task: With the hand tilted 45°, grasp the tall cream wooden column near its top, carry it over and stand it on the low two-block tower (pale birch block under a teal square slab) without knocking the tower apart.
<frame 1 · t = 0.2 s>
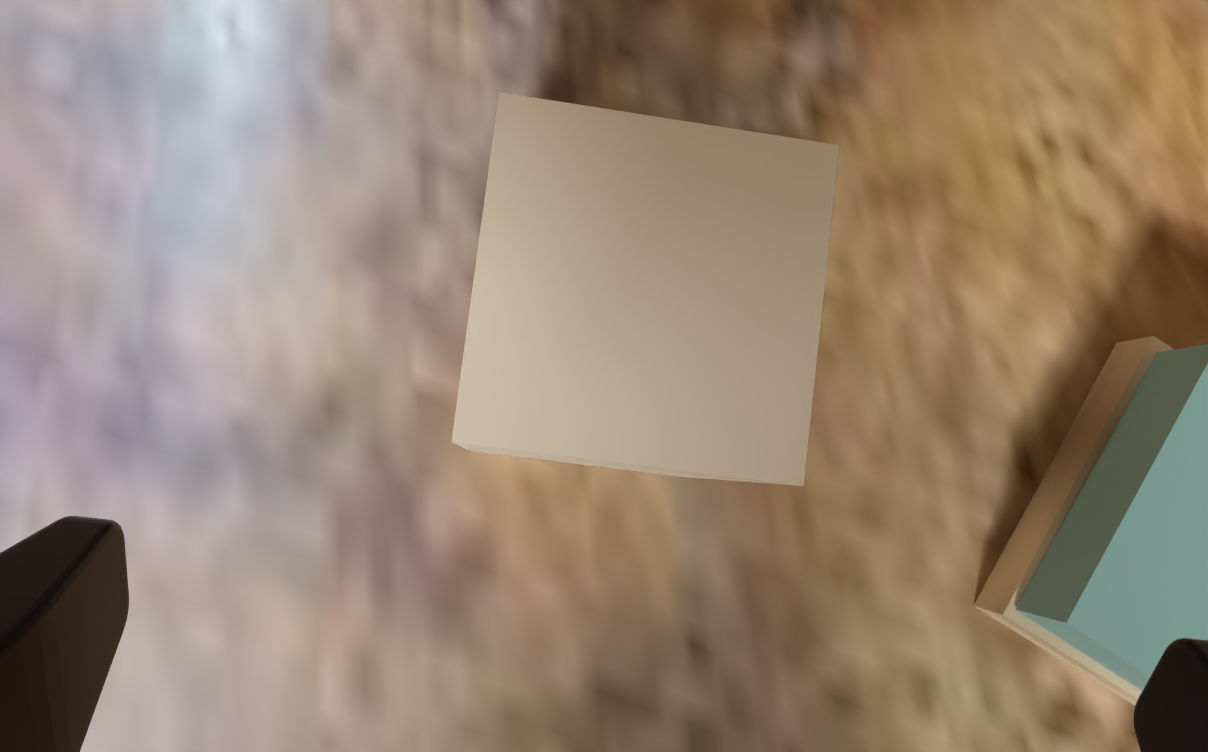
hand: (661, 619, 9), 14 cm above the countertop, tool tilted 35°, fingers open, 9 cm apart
cream column: (585, 361, 24), on the countertop
tower base: (1156, 549, 25), on the countertop, touching teal square slab
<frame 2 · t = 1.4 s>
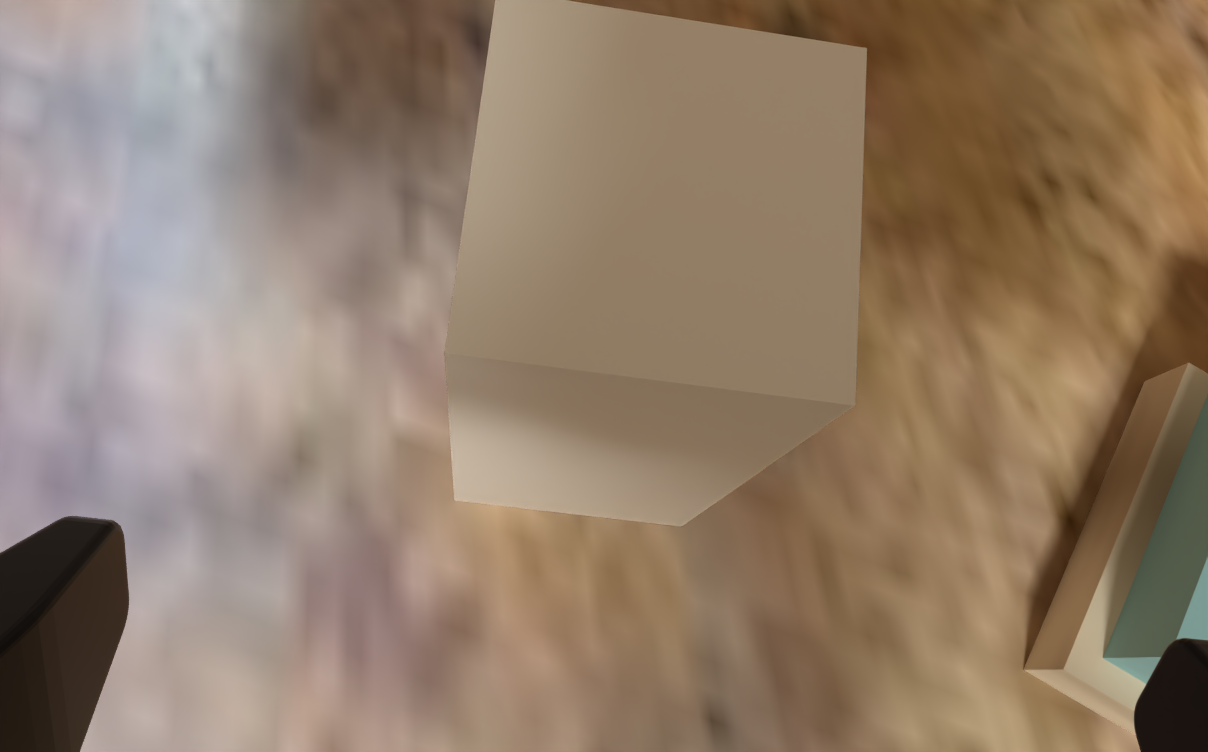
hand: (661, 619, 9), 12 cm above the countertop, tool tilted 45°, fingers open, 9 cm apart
cream column: (580, 403, 22), on the countertop
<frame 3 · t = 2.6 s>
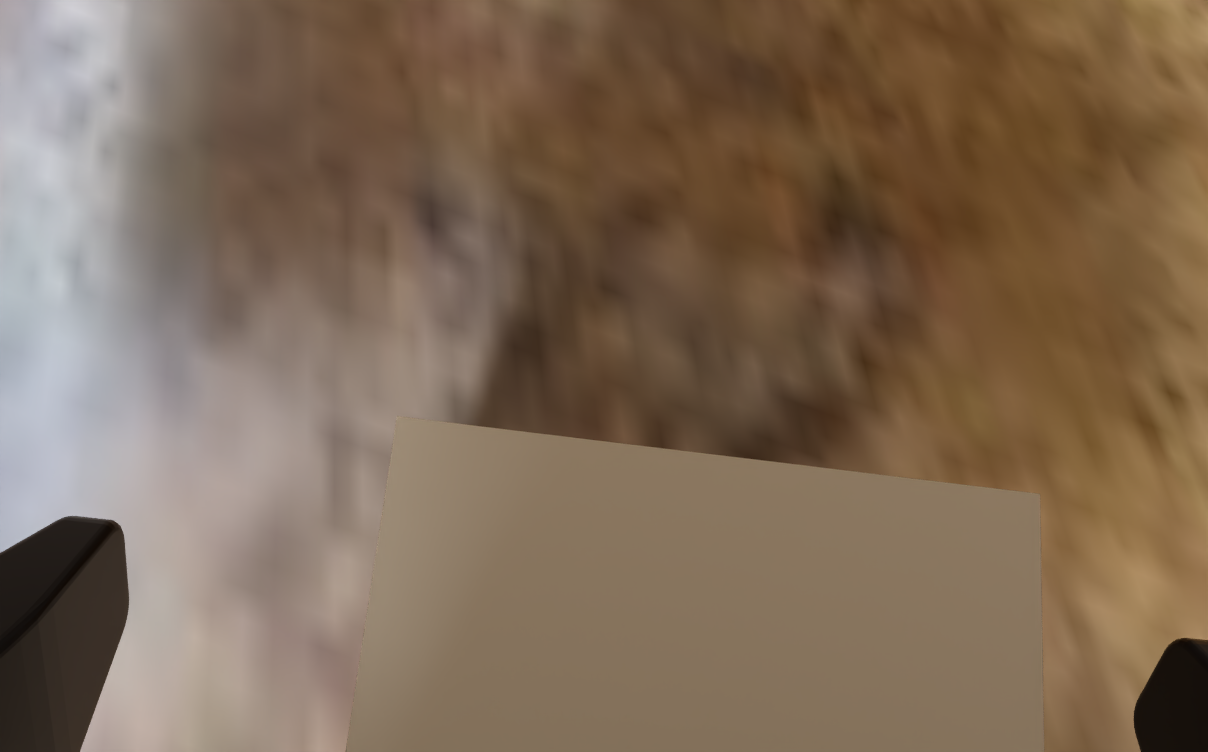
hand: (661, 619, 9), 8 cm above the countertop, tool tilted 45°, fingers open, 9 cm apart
cream column: (565, 727, 16), on the countertop
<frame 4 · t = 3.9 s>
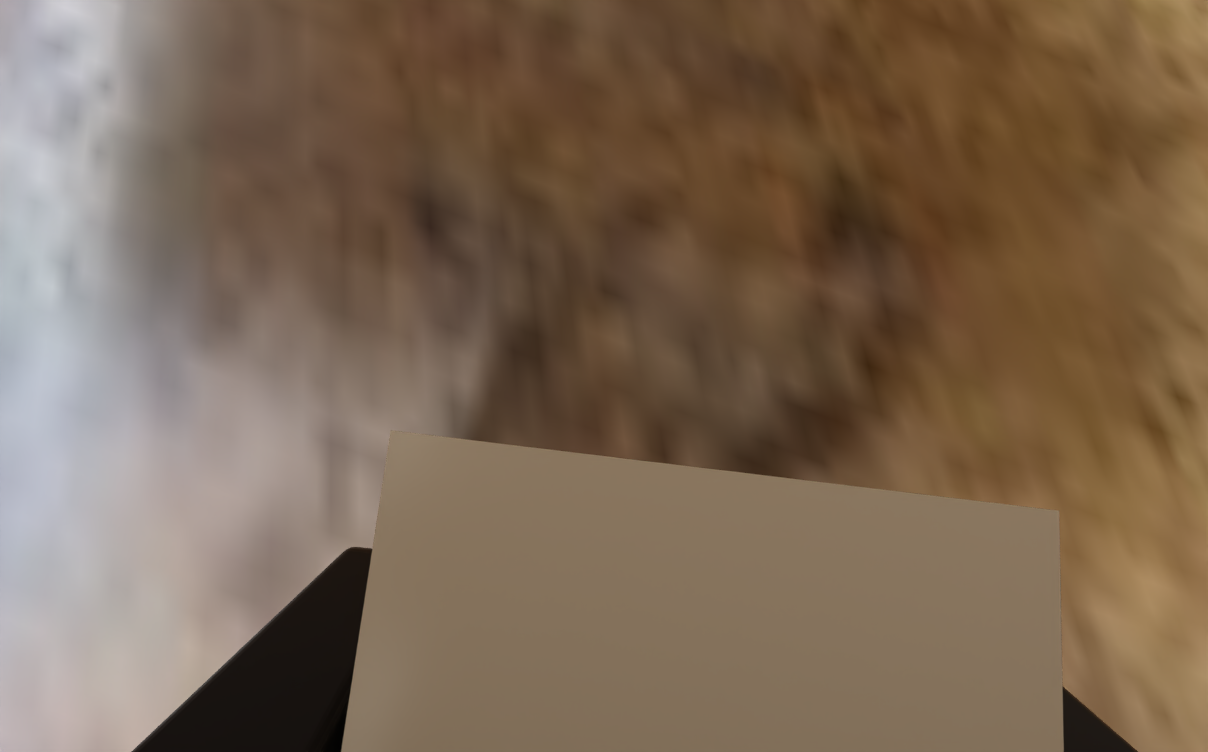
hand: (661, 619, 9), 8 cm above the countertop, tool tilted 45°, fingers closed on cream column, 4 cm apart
cream column: (565, 736, 16), on the countertop, touching gripper
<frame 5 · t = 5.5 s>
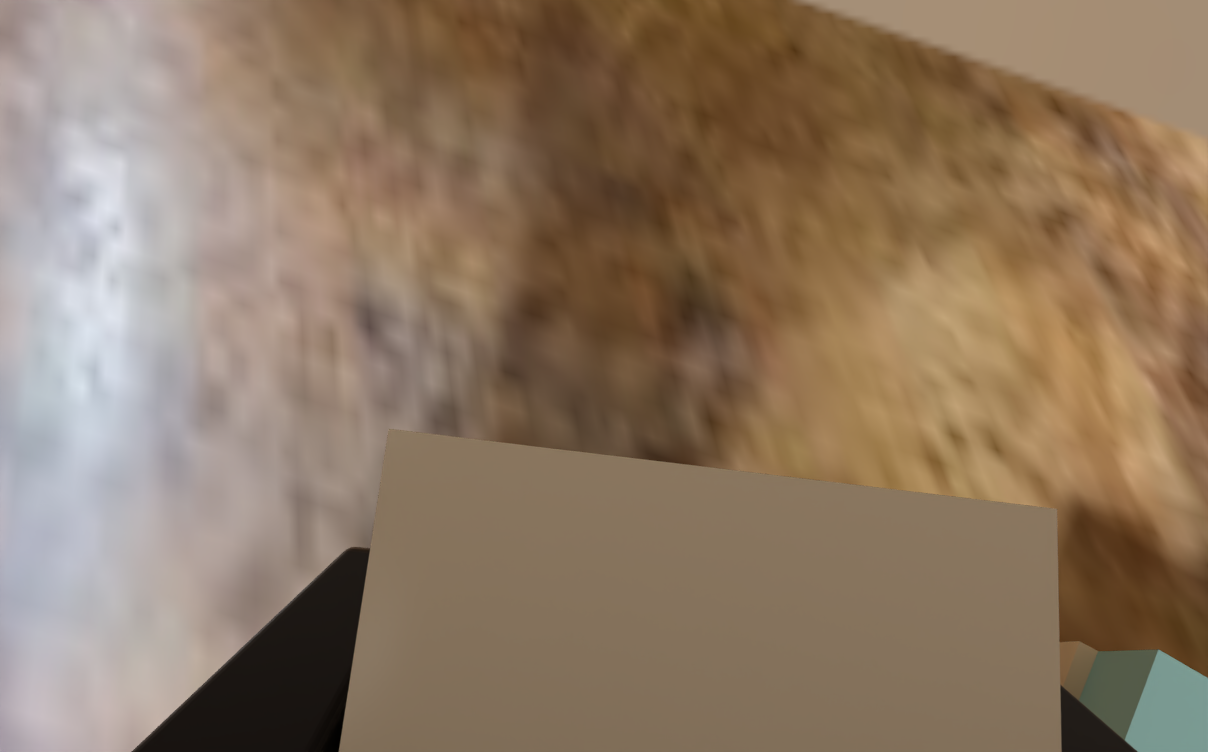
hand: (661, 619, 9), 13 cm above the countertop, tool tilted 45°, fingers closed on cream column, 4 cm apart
cream column: (564, 735, 16), point 6 cm above the countertop, touching gripper
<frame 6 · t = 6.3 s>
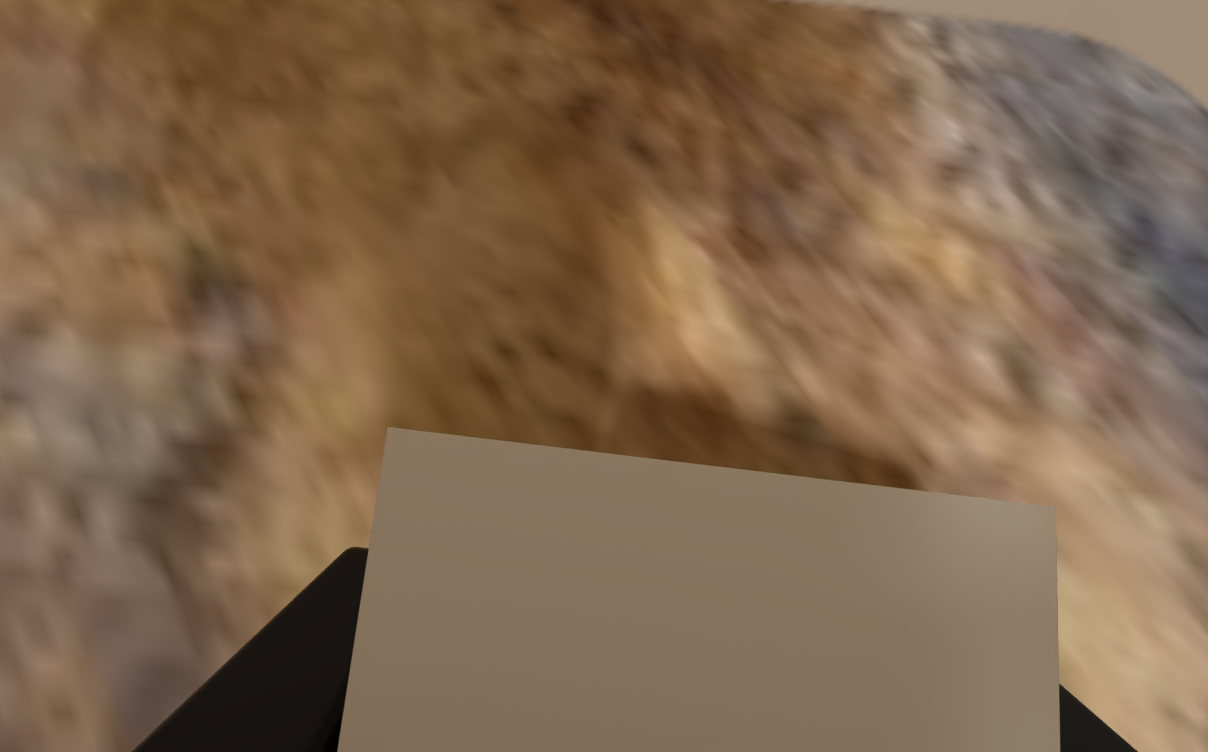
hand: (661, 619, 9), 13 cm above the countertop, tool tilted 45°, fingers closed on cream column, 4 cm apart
cream column: (564, 734, 16), point 6 cm above the countertop, touching gripper
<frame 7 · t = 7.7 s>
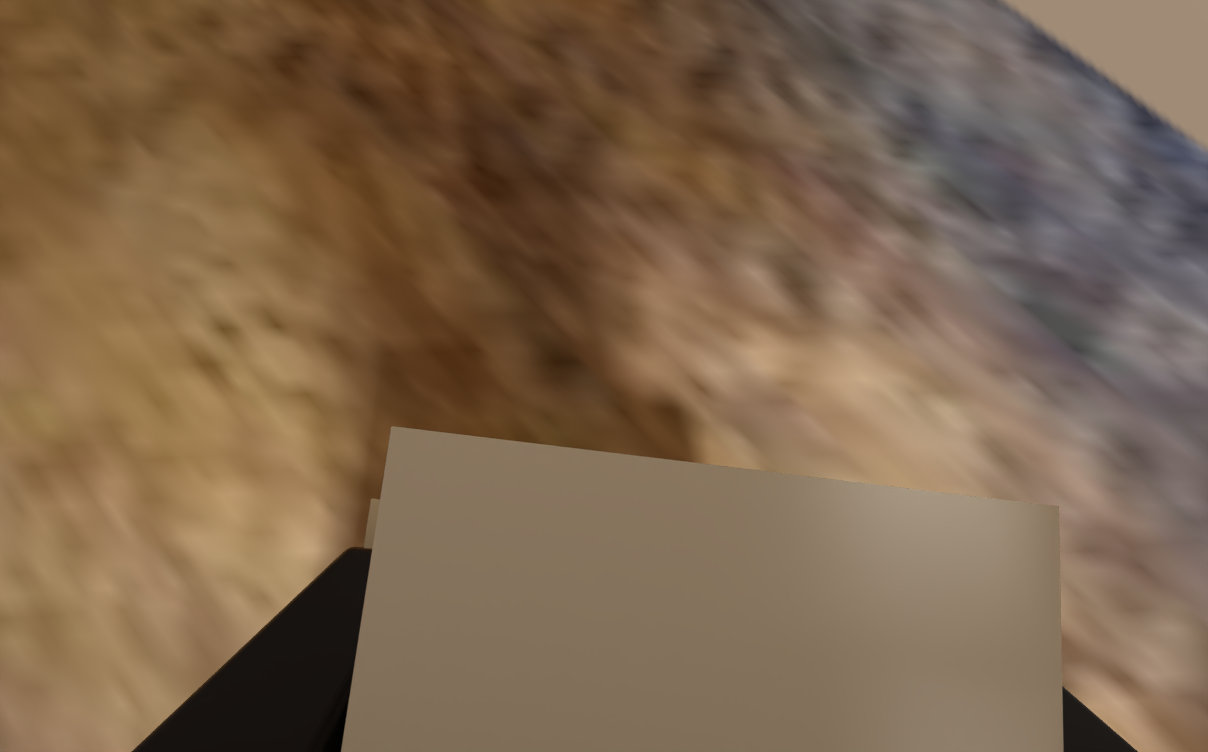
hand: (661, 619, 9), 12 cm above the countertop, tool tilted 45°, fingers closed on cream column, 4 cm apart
cream column: (565, 734, 16), point 4 cm above the countertop, touching gripper
tower base: (532, 713, 21), on the countertop
when the fingers open (12 cm above the countertop, at t = 8.4 s): cream column stays where it is, resting on teal square slab.
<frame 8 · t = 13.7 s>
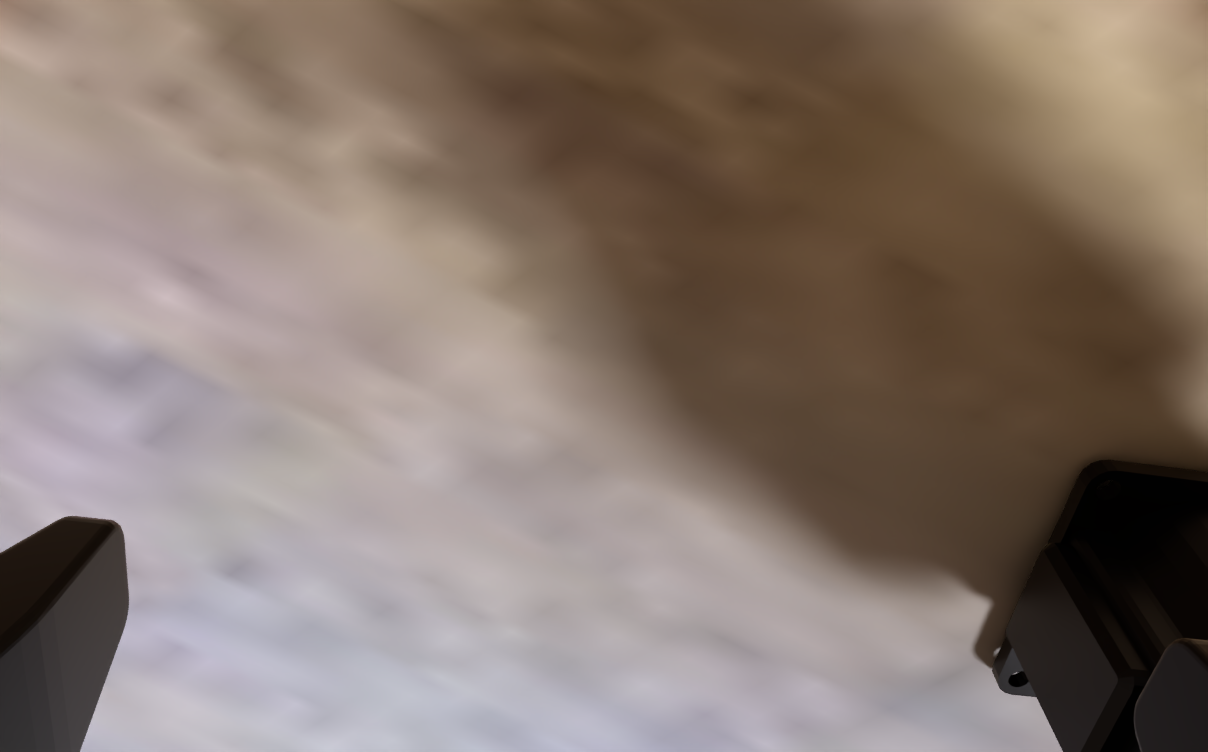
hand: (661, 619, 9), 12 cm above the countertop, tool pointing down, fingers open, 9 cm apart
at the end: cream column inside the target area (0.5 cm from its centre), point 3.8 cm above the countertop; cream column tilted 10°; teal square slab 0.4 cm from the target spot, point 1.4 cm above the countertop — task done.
